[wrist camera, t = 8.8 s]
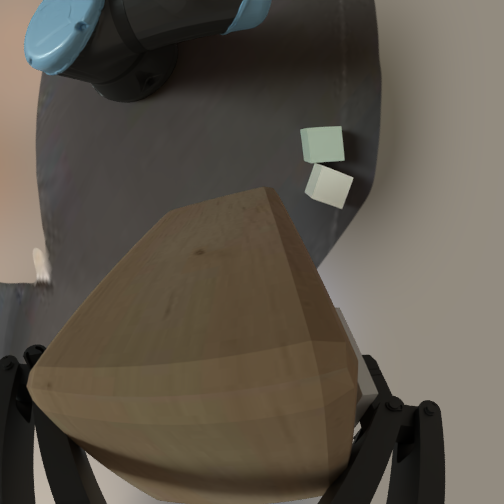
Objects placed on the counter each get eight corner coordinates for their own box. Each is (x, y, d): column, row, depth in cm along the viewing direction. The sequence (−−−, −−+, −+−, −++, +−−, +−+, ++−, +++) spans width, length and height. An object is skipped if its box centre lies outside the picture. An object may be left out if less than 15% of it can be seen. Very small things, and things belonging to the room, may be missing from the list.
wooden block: (274, 182, 23) (375, 362, 4) (295, 284, 26) (351, 493, 8) (163, 210, 23) (7, 384, 5) (197, 304, 27) (151, 502, 9)
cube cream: (314, 162, 41) (322, 165, 36) (342, 173, 42) (353, 177, 37) (304, 191, 43) (311, 198, 38) (332, 201, 43) (342, 209, 39)
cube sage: (300, 129, 39) (306, 128, 34) (331, 127, 39) (341, 126, 34) (304, 160, 41) (310, 163, 36) (334, 158, 41) (344, 160, 36)
